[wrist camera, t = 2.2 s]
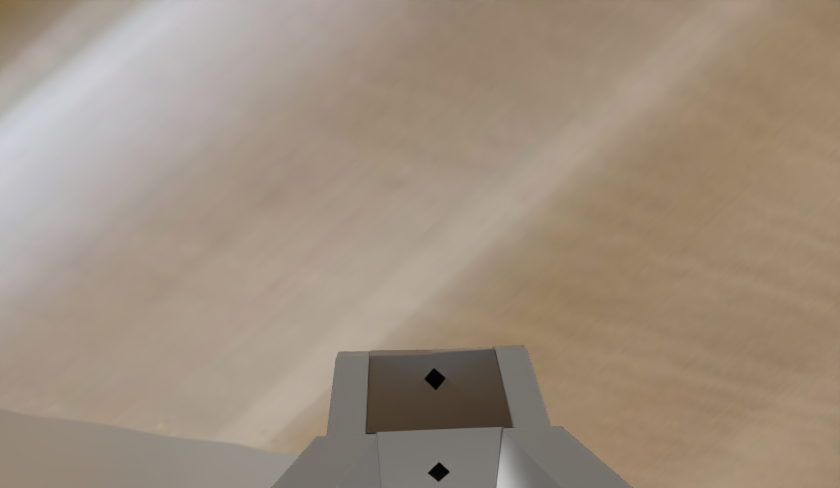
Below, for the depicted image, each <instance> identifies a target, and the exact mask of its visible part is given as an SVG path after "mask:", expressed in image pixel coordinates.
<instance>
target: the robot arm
mask: <svg viewBox="0 0 840 488" xmlns="http://www.w3.org/2000/svg"><path fill="white" fill-rule="evenodd" d="M271 488H633V487H631V486H630V485H629V484H628V483H627V482H626V481H625V480H623V479H622V478H621V477H620V476H619V475H618V474H616V473H615V472H614V471H613V470H612V469H611V468H609V467H608V466H607V465H606V464H605V463H604V462H602V461H601V460H600V459H599V458H598V457H597V456H596V455H594V454H593V453H592V452H591V451H590V450H589V449H587V448H586V447H585V446H584V445H583V444H582V443H580V442H579V441H578V440H577V439H576V438H575V437H574V436H572V435H571V434H570V433H569V432H568V431H567V430H565V429H564V428H563V427H562V426H551V423H550V419H549V416H548V413H547V410H546V407H545V404H544V401H543V397H542V394H541V391H540V388H539V385H538V382H537V378H536V375H535V372H534V369H533V366H532V363H531V359H530V356H529V353H528V350H527V348H526V347H525V346H524V345H512V346H493V347H477V348H455V349H433V350H379V351H371V352H369V351H357V352H338V355H337V357H336V361H335V369H334V377H333V385H332V394H331V402H330V410H329V418H328V427H327V435H326V436H317V437H316V438H315V439H314V440H313V441H312V442H311V443H310V444H309V446H308V447H307V448H306V449H305V450H304V451H303V452H302V453H301V455H300V456H299V457H298V458H297V459H296V460H295V461H294V463H293V464H292V465H291V466H290V467H289V468H288V469H287V470H286V472H285V473H284V474H283V475H282V476H281V477H280V478H279V480H278V481H277V482H276V483H275V484H274V485H273V487H271Z"/></svg>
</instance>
